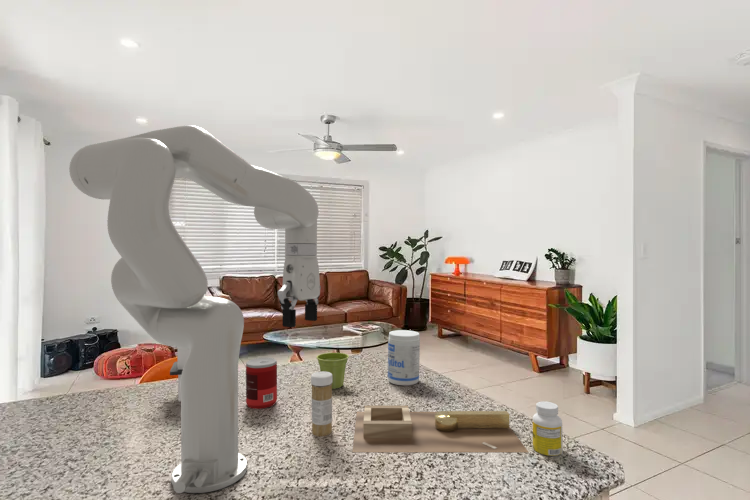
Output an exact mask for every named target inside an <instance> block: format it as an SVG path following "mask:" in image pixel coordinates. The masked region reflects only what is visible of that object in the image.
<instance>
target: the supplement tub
mask: <svg viewBox="0 0 750 500" xmlns="http://www.w3.org/2000/svg"><path fill="white" fill-rule="evenodd" d="M420 342H421V339H420V332H418V331H414V330H410V329H409V330H407V329H397V330H392V331H389V332H388V341H387V380H388V382H389V383H391V384H393V385H396V386H413V385H416V384H417V383H418V382H419V381H420V355H421V351H420V350H421V348H420V347H421V345H420V344H421V343H420Z"/></svg>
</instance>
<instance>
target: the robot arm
mask: <svg viewBox="0 0 750 500" xmlns="http://www.w3.org/2000/svg"><path fill="white" fill-rule="evenodd" d="M69 176H70V178H71V181H72V183H73V185H74V186H75V187H76V189H78V190H79V191H80V192H81V193H82V194H85V195H86V196H88V197H90V198H93V199H97V200H109V205H108V211H107V220H106V221H107V232H108V237H109V239H110V241H111V243H112V245H113V247H114V249H115V250H116V252H117V253H118V255H120V257H121V258H120V259H119V260H117V262H116V263H115V264H114V265H113V268H112V271H111V275H110V281H111V287H112V288H111V289H112V291H113V295H114V296H115V298H116V300H117V301H118V302H119V303H120V304H121V306H122V307H123V308H124V309H125V310H126V311H127V313H128V314H129V315H130V316H131V317H132V318H133V319H134V321H136V322H137V324H139V326H140V327H141V328H142V329H143V330H144V331H145V332H146V333H147V335H149V336H150V337H151V338H152V339H153V340H155V341H156V342H157V343H159V344H161V345H165V346H169V347H173V348H177V347H179V348H186V349H190V350H191V352H190V355H189V358H188V360H187V362H186V364H185V366H184V368H183V371H182V375H181V401H180V435H181V436H180V460H181V461H180V463H179V464H178V465H177V466H176V467H175V468H174V469H173V471H172V472H171V479H170V480H171V485H172V487H173V490H174V492H175V493H177V494H182V493H187V494H188V493H190V494H203V493H210V492H215V491H219V490H222V489H225V488H227V487H230V486H231V485H233V484H235V483H236V482H238V481H239V480H240V479H242V478H243V477H244V476H245V474H246V473H247V470H248V460H247V458H246V457H245V456H244V455H243V454H241V453H239V357H240V350H241V343H242V339H243V333H244V328H245V326H244V325H245V317H244V315H243V312H242V309H241V308H240V307H239V305H237V304H236V303H235V302H234V301H232V300H230V299H227V298H225V297H219V296H212V295H211V296H210V295H209V296H207V295H206V294H207V292H208V287H209V286H208V285H209V282H208V281H209V280H208V278H207V274H206V272H205V271H204V269H203V268H202V265H201V264H200V262H199V261H198V259H197V258H196V257H195V256H194V254H193V252H192V251H191V249H190V247H188V245H187V244H186V242H185V241H184V239H183V238H182V236H181V235H180V234H179V232H178V230H177V228H176V227H175V225H174V224H173V221H172V219H171V216H170V199H171V193H172V189H173V186H174V182H175V179H179V178H185V179H189V180H191V181H192V182H193V183H196V184H197V185H199V186H200V187H203V188H204V189H205V190H208V191H209V192H211V193H213V194H214V195H216V196H217V197H219V198H220V199H222V200H224V201H225V202H228V203H230V204H235V205H239V206H240V205H241V206H244V207H252V208H254V209H253V216H254V218H255V221H256V222H257V223H258V224H259V225H260V226H262V227H263V228H266V229H270V230H284V236H285V237H284V263H283V271H282V287H280V288H279V289H278V290H277V297H278V303H279V304H280V308H281V310H282V327H284V328H286V327H287V328H295V327H297V323H296V320H297V316H296V315H297V309H295V306H297V305H296V304H297V302H298V301H305V302H306V304H304V320H305V321H309V322H310V321H311V322H312V321H313V322H317V321H318V304H319V298H320V295H321V285H320V284H321V283H320V282H321V281H320V280H321V278H320V266H319V260H318V218H319V211H320V210H319V206H318V203H317V201H316V199H315V198H314V196H313V195H312V194H311V193H310V192H309V191H308V189H306V188H305V187H304V186H303V185H301V184H299V183H298V182H297V181H295V180H293V179H290V178H289V177H286V176H284V175H281V174H278V173H276V172H273V171H270V170H267V169H265V168H263V167H259V166H257V165H253V164H251V163H250V162H248V161H247V160H245V159H244V158H242V156H240V155H239V154H237V152H235V151H233V150H232V149H231V148H230V147H228V146H227V145H225V144H224V143H223V142H222V141H220V140H219V139H218V138H216V137H215V136H214V135H213V134H211V133H210V132H208V131H207V130H205V129H204V128H202V127H199V126H196V125H180V126H174V127H173V126H172V127H169V128H162V129H157V130H151V131H147V132H144V133H139V134H135V135H131V136H128V137H123V138H117V139H113V140H108V141H103V142H98V143H93V144H89V145H85V146H84V147H82V148H80V149H79V150H77V151H76V152H75V153H74V154H73V156H72V158H71V159H70V163H69Z"/></svg>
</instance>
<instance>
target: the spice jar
mask: <svg viewBox="0 0 750 500" xmlns="http://www.w3.org/2000/svg"><path fill="white" fill-rule="evenodd" d="M332 382H333V380H332V373H330V372H324V371H322V372H320V371H316V372H313V373H311V376H310V384H311V434H312V435H314V436H315V437H327V436H329V435H330V434H331V435H332V431H333V423H332V422H333V389H332Z"/></svg>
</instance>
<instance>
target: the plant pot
mask: <svg viewBox="0 0 750 500" xmlns="http://www.w3.org/2000/svg"><path fill="white" fill-rule="evenodd" d="M315 358H316V359H317V363H318V365H319V372H322V371H324V372H330V373H332V380H333V382H332V390H334V389H340V388H342V387H343V386H344V382H345V381H344V380H345V375H346V366H347V362H348V359H349V358H350V356H349V354H347V353H342V352H325V353H320V354H318V355H316V357H315Z"/></svg>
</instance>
